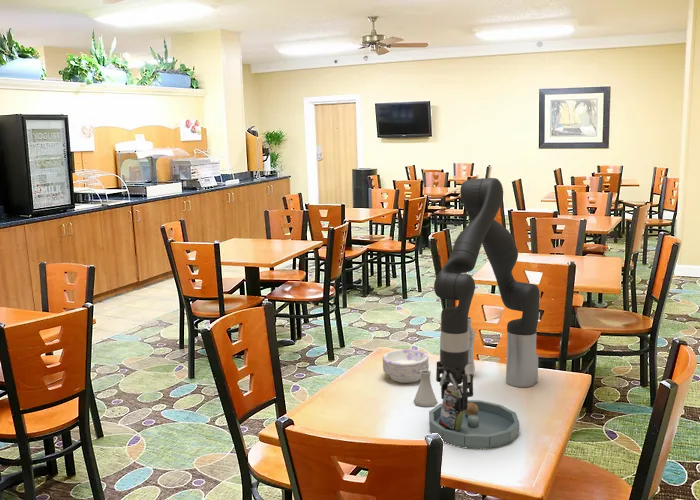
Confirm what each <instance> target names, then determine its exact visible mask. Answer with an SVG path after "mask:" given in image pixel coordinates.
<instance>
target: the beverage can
mask: <svg viewBox="0 0 700 500" xmlns="http://www.w3.org/2000/svg"><path fill="white" fill-rule="evenodd" d="M461 391H462V393H463V389H461ZM441 404H442V409H441V414H440V420H439V425H441V426H442V427H444V428H445V429H448V430H452V431H457V430H460V429H461V425H462V419H463V414H464V411H460V410H459V394H458V391H457V390H455V388H454V385H453V384H449V386H448V387H447V389H446V390H445V391H444V397H443V399H442V403H441Z"/></svg>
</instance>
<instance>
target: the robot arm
mask: <svg viewBox="0 0 700 500" xmlns="http://www.w3.org/2000/svg"><path fill="white" fill-rule="evenodd" d="M459 192H460V199H461V203H462V206H463V208H464V211H466V214H467V215H468V217H469V219H470V223H469V224H468V225H467V226H465V228H464V229H462V230H461V232H460V233H459V234H458V235H457V238H456V239H455V242H454V244H453V246H452V250H451V253H450V256H449V258H448V259H447V261H446V263H445V264H444V265H443V266H442V268H441V270H440V271H439V272H438V273H437V276H436V277H435V280H434V281H433V282H434V283H433V291H434V293H435V295H436V296H437V297H438V298H439V299H443V300H452V301H458V305H456V306H450V307H446V308H443V309H442V310H441V313H440V314H441V315H440V336H439V337H440V338H439V361H436V376H435V381H436V382H437V383H439V386H440V387H441V388H440V391H441V392H440V393H441V394H440V395H441V399H442V400H443V397H444V391H445V390H446V389H447V387H448V386H449V385H454V388H455V390H457V391H458V394H459V410H460V411H464V410H467V407H468V404H467V403H468V400H469V399H468V398H470V397H474V379H473V378H474V376H473V375H474V374H473V375H472V374H466V373H465V367H466V365H468V359H469V338H468V317H469V312H470V308H471V304H472V301H473V299H474V298H473V297H474V296H475V295H474V294H475V290H476V283H475V279H474V278H473V277H472V275H470V274H466V273H470V272H472V271H473V270H474V269H475V267H476V264H477V261H478V257H479V254H480V250H481V247H482V248H483V250H484V252H485V255H486V257H487V260H488V262H489V263H490V264H489V265H490V266H491V268H492V271H493V274H494V278H495V280H496V283H497V284H496V285H497V288H498V290H499V291H498V292H499V295H500V298H501V301H502V304H503V306H504V307H506V308H507V309H508V310H512V311H518V312H522V314H521V318H517V319H515V318H514V319H512V320H510V321H508V322H507V324H506V365H505V366H506V367H505V369H506V370H505V371H506V372H505V382H506V383H507V384H508V385H510V386H512V387H515V388H516V387H517V388H529V387H533V386H534V385H536V384H538V381H539V354H537V330H538V328H537V327H538V323H539V313H540V303H541V302H540V301H541V293H540V288H539V286H538V285H536V284H535V283H530V282H529V283H528V282H522V281H517V280H516V279H515V277H514V276H513V269H514V267H515V266H516V264H517V261H518V257H519V250H518V247H517V245H516V242H515V239H514V237H513V235H512V233H511V232H510V230H508V229H507V228H506V227H505V226H504V225H502V224H501V223H500V222H498V221H497V220H495V218H496V217H497V214H498V212H499V210H500V208H501V206H502V203H503V199H504V188H503V185H502V182H501V181H500V180H499V179H498V178H495V177H485V178H484V177H483V178H471V179H468V180H465V181H463V182H462V184H461V185H460V191H459ZM461 389H463V393H462V391H461Z"/></svg>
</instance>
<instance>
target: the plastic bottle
mask: <svg viewBox="0 0 700 500" xmlns="http://www.w3.org/2000/svg"><path fill="white" fill-rule="evenodd" d="M471 324H472V317H470V316H468V338H469V359H468V365H466V367H465V373H466V374H472V375H474V373H475V370H476V365H475V360H474V358H475V357H474V344H475V338H476V333H475V329H474V327H473V326H472V325H471Z"/></svg>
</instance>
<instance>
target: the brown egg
mask: <svg viewBox="0 0 700 500" xmlns="http://www.w3.org/2000/svg"><path fill="white" fill-rule="evenodd" d="M467 404H468V407H467V410H464V412H465V414H466V415H467V416H469V415H477V413H478V406H477V405H476V404H475V403H472V402H470V403H467Z"/></svg>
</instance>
